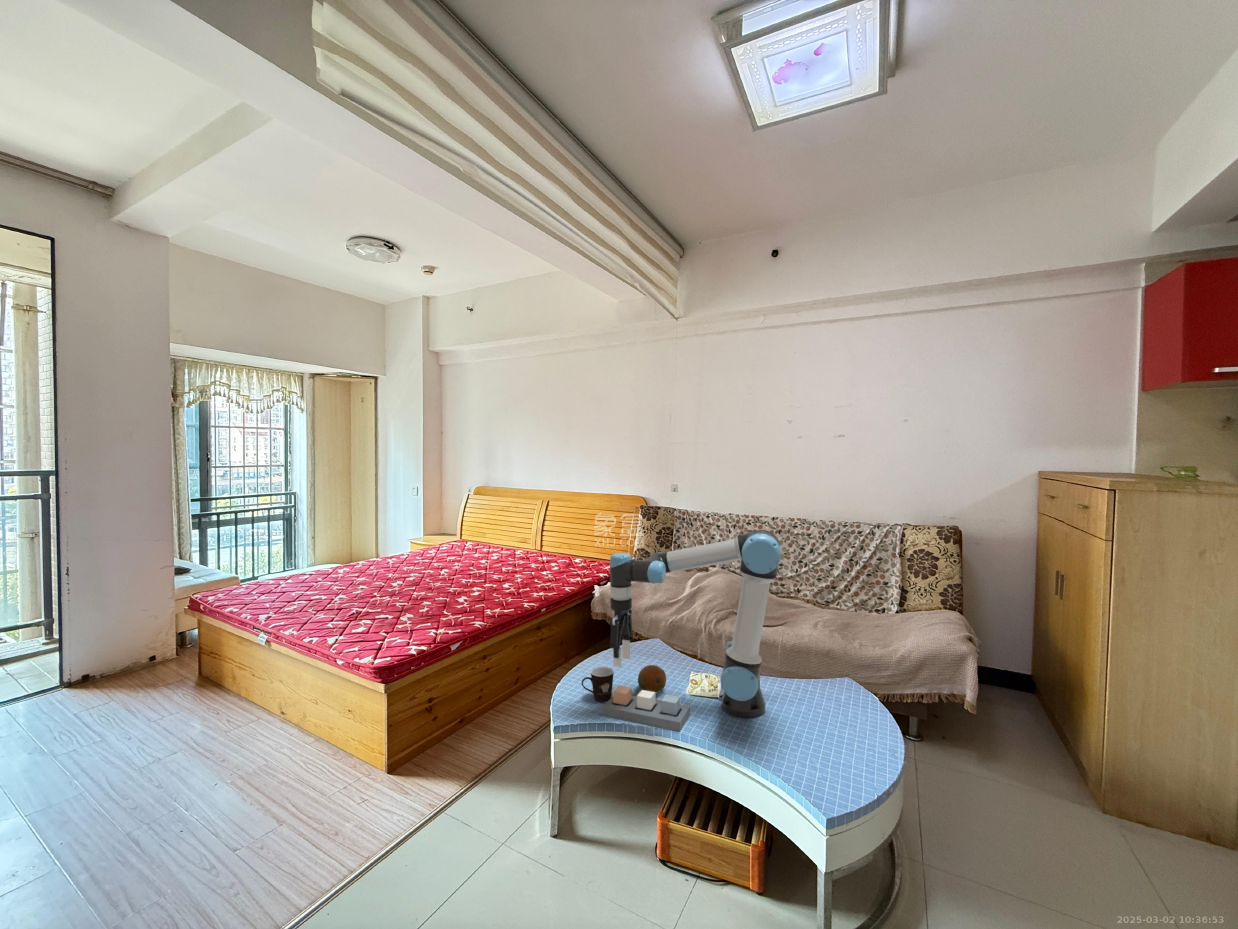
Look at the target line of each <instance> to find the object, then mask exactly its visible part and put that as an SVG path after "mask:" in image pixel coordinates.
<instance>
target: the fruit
mask: <svg viewBox="0 0 1238 929" xmlns="http://www.w3.org/2000/svg"><path fill="white" fill-rule="evenodd" d="M637 684H638V686H639V688H640V689H641V690H646V691H651V692H655V694H656V693H660V692H661V691H662V690H663V689H664V688H665V687H666V684H667V675H666V672H665V670H664V669H663V668H661V667H660V666H658V665H656V664H655V665H654V664H649V665H647V666H644V667H643V668H641V669H640V672H639V673H638V676H637Z"/></svg>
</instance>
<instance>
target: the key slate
mask: <svg viewBox="0 0 1238 929" xmlns="http://www.w3.org/2000/svg"><path fill="white" fill-rule="evenodd" d="M661 701H662V712H663V713H668V714H673V715H676V714H677V713H678V711H679V710H680V704H681V696H679V695H672V694H667V693H666V694H665V695H664V697H663V698H662V699H661Z"/></svg>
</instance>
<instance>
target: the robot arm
mask: <svg viewBox="0 0 1238 929" xmlns="http://www.w3.org/2000/svg"><path fill="white" fill-rule="evenodd" d="M780 543H781V542H780V541H779V539H778V537H777V536H776V535H775V534H774V533H773V532H771V531H769V530H767V529H758V530H754V531H751V532H748V533H743V534H740V535H738V534H737V535H736V536H735V537H734V538H732V539H728V540H723V541H718V542H712V543H708V544H703V545H697V546H691V547H686V548H681V549H677V550H675V549H674V550H671V551H670V550H669V551H667V552H655V553H652V554H651V555H649V556H648V557H647V558H646V559H645V560H643V559H642V560H640V559H639V560H637V559H636V560H635V559H632V556H631V554H630V553H627V552H617V553H613V554H611V556H610V558H609V575H610V576H609V577H610V578H609V580H610V585H609V586H610V587H609V590H610V609H611V610H612V611H614V613H613V614H614V616H613V618H610V620H609V624H610V640H609V647H610V649H612V651H613V652H612V654H613V655H612V656H613V659H612V660H613V661H612V662H613V667H617V668H622V659H627V660H630V659H631V641H633V639H634V638H633V634H634V633H633V619H632V614H633V612H632V611H633V610H632V608H633V607H632V606H633V604H632V596H633V593H632V592H633V591H632V590H633V589H632V582H633V583H634V582H635V583H645V584H646V583H648V584H652V585H653V584H654V585H655V584H662V583H664V581H665V578H666V575H667V574H670V573H674V572H679V571H687V570H690V569H697V568H702V567H708V566H715V565H721V564H725V563H732V562H736V561H740V565H739V566H740V567H739V572H740V574H741V575H742V583H741V590H740V594H739V599H738V600H739V601H738V608H737V613H736V617H735V623H734V630H733V631H734V632H733V637H732V641H731V640H730V641H727V642H726V643H725V649H724V650H725V656H724V659H723V660H724V661H723V668H722V673H721V675H720V684H721V688H722V690H723V693H722V697H721V708H722V709H723V711H724V712H726V713H728V714H729V715H731V716H735V717H737V718H742V719H743V718H745V719H747V718H748V719H751V718H757V717H761V716H762V715H764V714H765V713H766V701H765V697H764V695H763V692H762V689H761V668H762V661H763V659H762V656H761V655H760V654H761V652H760V645H761V638H762V634H763V626H764V621H765V615H766V609H767V604H768V597H769V591H770V586H771V583H772V582H774V581H775V580H776V579H777V576H778V575H777V574H778V569H779V564H780V561H781V557H782V551H781V544H780ZM622 638H623V639H622ZM621 643H622V645H621ZM621 646H622V647H621Z"/></svg>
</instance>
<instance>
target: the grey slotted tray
mask: <svg viewBox="0 0 1238 929" xmlns="http://www.w3.org/2000/svg"><path fill="white" fill-rule="evenodd" d="M602 716H603V717H608V718H613V719H616V720H617V719H618V720H623V721H628V722H633V723H636V724H637V723H638V724H642V725H647V726H650V727H651V726H652V727H656V728H661V729H666V730H671V731H675V732H681V731H682V729H683V728H684V726H685V724H686V723H687V721H688V720H689V718H690V717H691V705H686V704H682V703H680V710H679V711H678V713H677V714H676V715H673V714H668V713H663V712H662V699H661V700H660V699H656V704H655V705H654V706H653V708H652V709H651V710H647V709H642V708H637V695H634V694H633V695H632V699H631V701H630V702H629V703H628V704H627V705H622V704H617V703H613V696H611V699H610V700H609V701H608V702H605V703H604V704H603V705H602Z"/></svg>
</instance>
